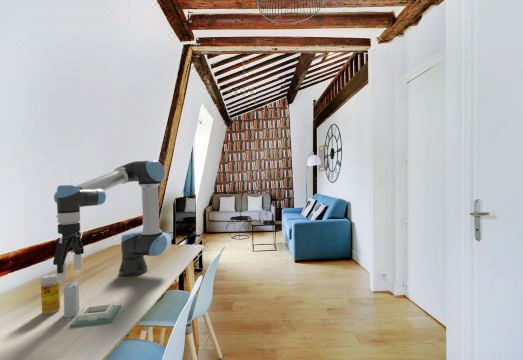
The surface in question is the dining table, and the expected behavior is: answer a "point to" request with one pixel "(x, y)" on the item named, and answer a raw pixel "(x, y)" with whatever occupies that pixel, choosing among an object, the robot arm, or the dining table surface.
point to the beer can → (50, 294)
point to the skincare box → (71, 299)
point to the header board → (96, 315)
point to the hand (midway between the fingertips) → (70, 275)
